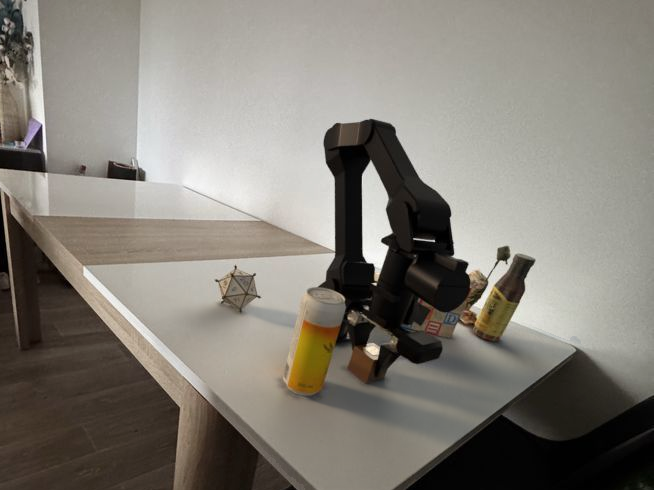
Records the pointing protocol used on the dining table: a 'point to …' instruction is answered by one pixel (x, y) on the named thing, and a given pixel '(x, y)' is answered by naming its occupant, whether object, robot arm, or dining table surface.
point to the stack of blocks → (437, 318)
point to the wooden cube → (365, 362)
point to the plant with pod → (480, 286)
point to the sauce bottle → (503, 299)
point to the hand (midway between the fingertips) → (367, 368)
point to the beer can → (314, 340)
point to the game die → (238, 288)
